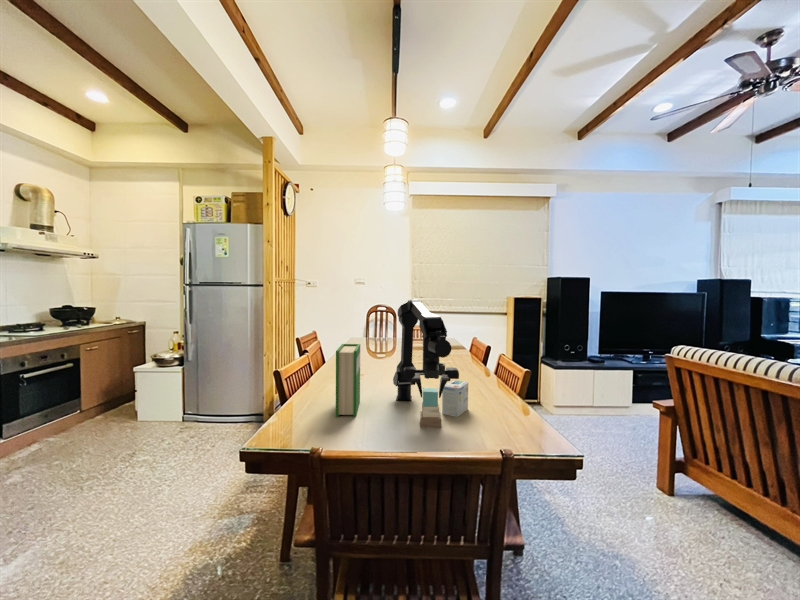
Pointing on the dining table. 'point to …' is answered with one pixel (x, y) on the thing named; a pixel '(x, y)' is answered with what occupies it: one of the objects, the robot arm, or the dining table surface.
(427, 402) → the teal cube
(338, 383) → the hardback book
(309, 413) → the dining table surface
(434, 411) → the maple block
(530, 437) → the dining table surface
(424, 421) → the walnut slab
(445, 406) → the light bulb box
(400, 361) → the robot arm
